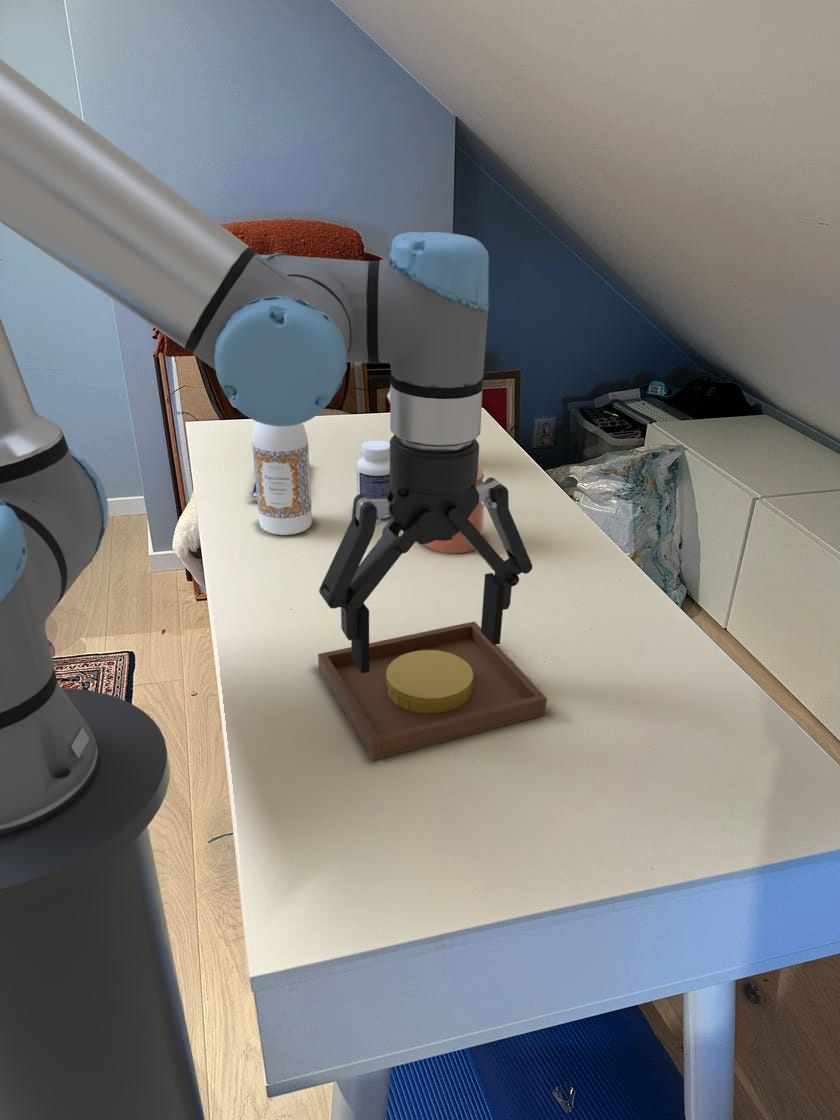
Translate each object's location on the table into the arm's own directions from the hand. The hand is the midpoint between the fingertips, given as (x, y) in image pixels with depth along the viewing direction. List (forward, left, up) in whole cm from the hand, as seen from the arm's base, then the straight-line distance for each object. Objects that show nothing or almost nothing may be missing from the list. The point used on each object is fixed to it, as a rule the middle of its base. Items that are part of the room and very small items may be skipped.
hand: (427, 651), depth 86 cm
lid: (0, 0, -3) cm, 3 cm away
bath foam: (-2, +43, -5) cm, 43 cm away
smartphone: (+2, +58, -5) cm, 58 cm away
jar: (+17, +31, -5) cm, 36 cm away
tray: (0, 0, -5) cm, 5 cm away
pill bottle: (+11, +43, -5) cm, 45 cm away
